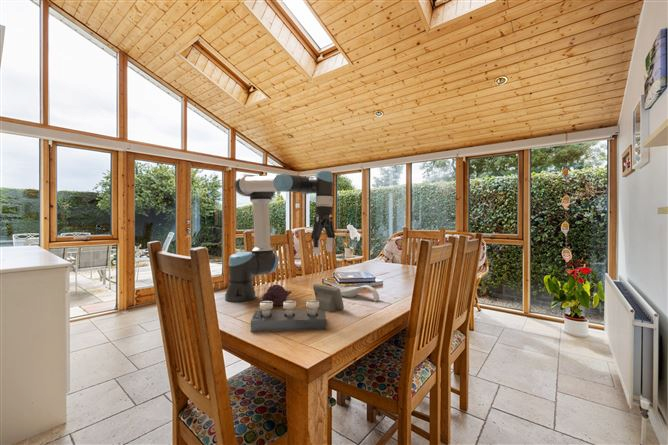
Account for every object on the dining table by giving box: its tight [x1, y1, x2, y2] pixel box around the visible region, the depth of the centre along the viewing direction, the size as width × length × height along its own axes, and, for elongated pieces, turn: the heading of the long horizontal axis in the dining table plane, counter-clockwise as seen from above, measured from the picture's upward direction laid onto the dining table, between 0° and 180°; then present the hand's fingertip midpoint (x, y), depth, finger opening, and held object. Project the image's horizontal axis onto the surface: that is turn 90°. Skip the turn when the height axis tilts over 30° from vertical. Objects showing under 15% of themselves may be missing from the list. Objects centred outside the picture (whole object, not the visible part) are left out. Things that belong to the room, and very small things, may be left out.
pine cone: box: [261, 284, 292, 306], centre depth 146 cm, size 18×10×10 cm, turn 145°
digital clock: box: [312, 283, 345, 313], centre depth 144 cm, size 16×9×11 cm, turn 39°
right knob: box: [305, 299, 319, 316], centre depth 121 cm, size 5×5×6 cm
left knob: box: [259, 300, 274, 317], centre depth 119 cm, size 5×5×6 cm
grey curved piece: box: [339, 284, 380, 302], centre depth 164 cm, size 24×12×7 cm, turn 57°
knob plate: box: [250, 309, 328, 333], centre depth 120 cm, size 28×12×4 cm, turn 97°
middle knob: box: [282, 300, 297, 317], centre depth 120 cm, size 5×5×6 cm
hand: (323, 253), depth 138 cm, fingers open, 13 cm apart
